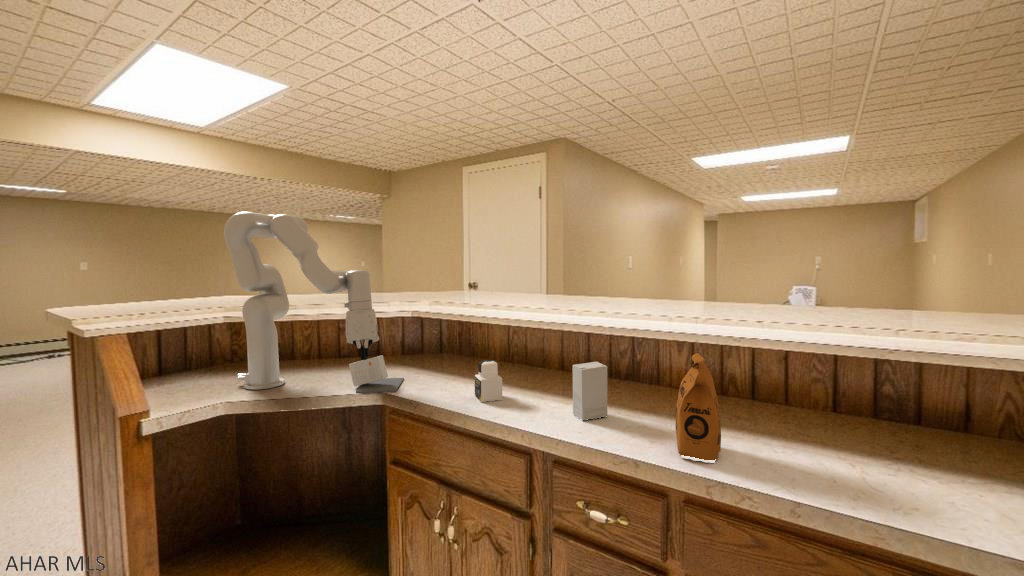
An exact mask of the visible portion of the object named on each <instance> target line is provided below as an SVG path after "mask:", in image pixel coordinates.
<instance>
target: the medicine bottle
mask: <svg viewBox="0 0 1024 576" xmlns="http://www.w3.org/2000/svg"><path fill="white" fill-rule="evenodd" d="M498 365H499V363H498V362H497V360H494V359H483V360H480V361H479V362H478V374H475V375H474V397H475V398H476V399H477V400H478V401H479V403H487V402H486V401H490V402H496V401H495V400H498V401H503V378H502V377H501V376H500V375H499V373H498V372H499V369H498V368H499V367H498Z"/></svg>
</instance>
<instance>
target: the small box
mask: <svg viewBox="0 0 1024 576" xmlns="http://www.w3.org/2000/svg"><path fill="white" fill-rule="evenodd" d="M348 367H349V368H348V369H349V372H350V377H351V381H352V384H353V387H360V386H361V385H362V384H366V383H370V382H374V381H378V380H382V379H384V378H389V376H388V371H387V367H386V363H385V358H384V355H377V356H375V357H370V358H369V357H368V358H367V359H366V360H364V359H363V360H358V361H355V362H352V363H348Z"/></svg>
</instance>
